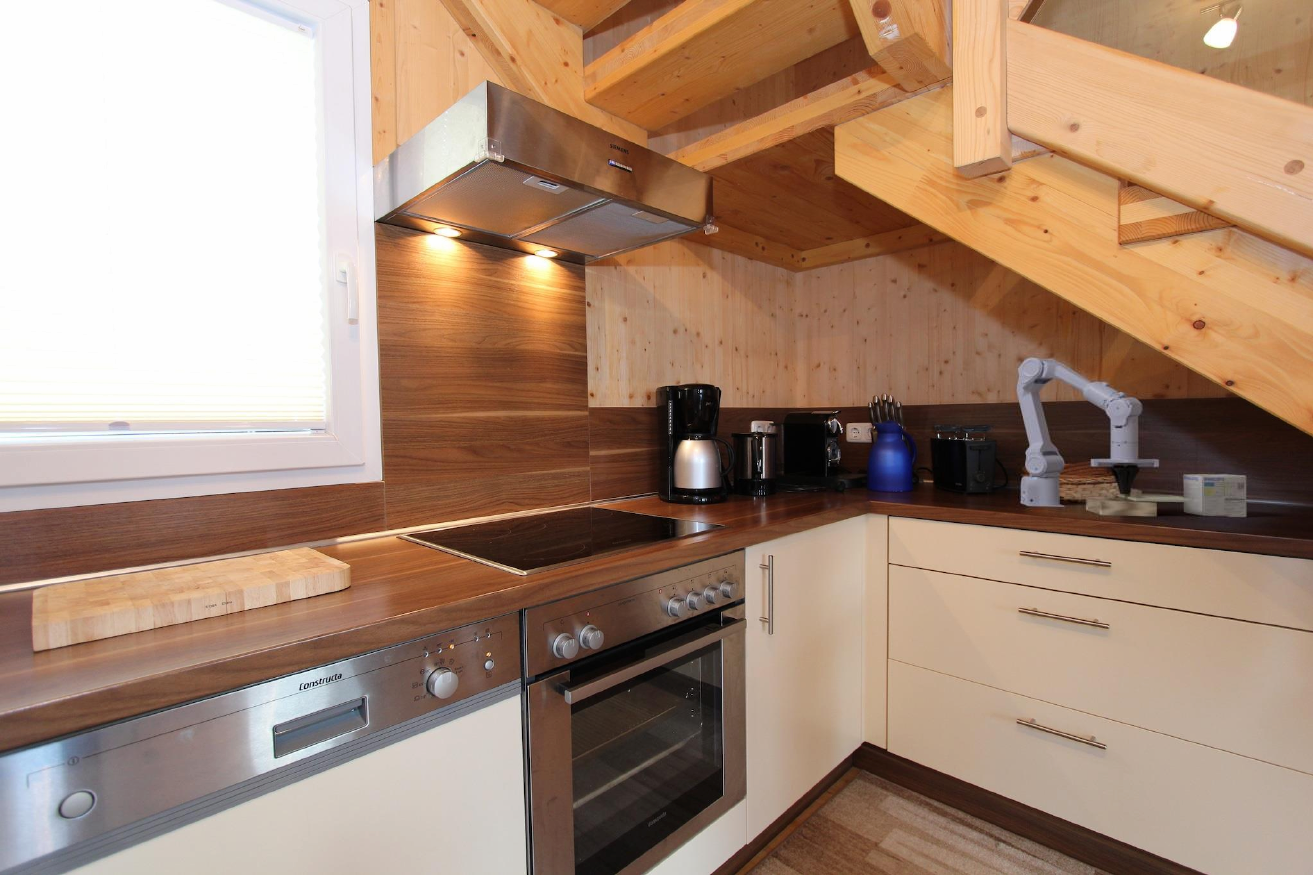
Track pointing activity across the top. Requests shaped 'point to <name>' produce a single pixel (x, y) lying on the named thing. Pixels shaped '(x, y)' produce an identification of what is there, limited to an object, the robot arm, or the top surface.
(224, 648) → the top surface
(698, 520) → the top surface
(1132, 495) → the lid
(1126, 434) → the robot arm
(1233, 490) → the light bulb box
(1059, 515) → the top surface
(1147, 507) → the pine box
